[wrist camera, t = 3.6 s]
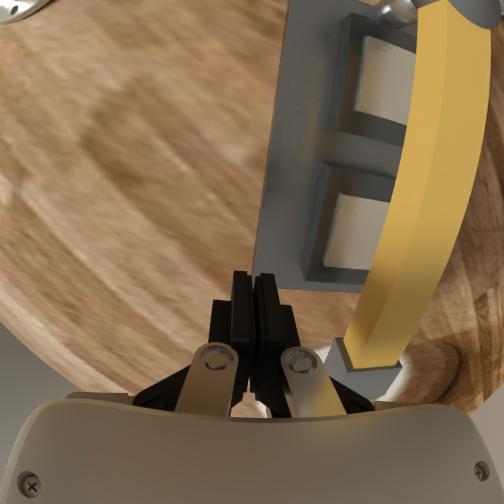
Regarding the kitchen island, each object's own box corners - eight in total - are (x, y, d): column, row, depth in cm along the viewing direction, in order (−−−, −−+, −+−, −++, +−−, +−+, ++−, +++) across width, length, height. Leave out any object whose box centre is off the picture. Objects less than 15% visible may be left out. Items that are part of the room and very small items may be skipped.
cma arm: (397, -54, 5) (424, -73, 3) (466, -15, 5) (497, -23, 3) (315, 367, 15) (324, 401, 13) (376, 364, 16) (389, 394, 13)
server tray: (289, -11, 12) (317, -65, 6) (439, 41, 13) (507, 33, 7) (250, 278, 21) (255, 350, 15) (384, 286, 22) (423, 346, 16)
